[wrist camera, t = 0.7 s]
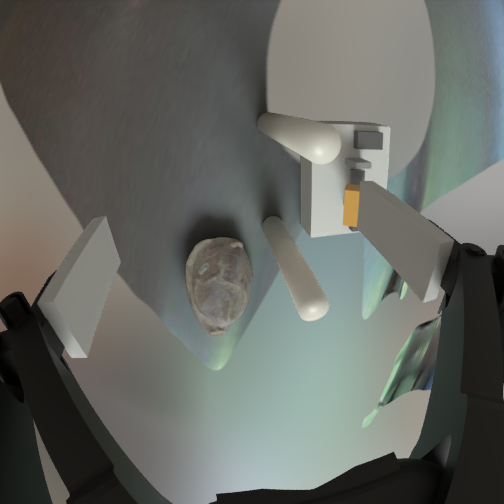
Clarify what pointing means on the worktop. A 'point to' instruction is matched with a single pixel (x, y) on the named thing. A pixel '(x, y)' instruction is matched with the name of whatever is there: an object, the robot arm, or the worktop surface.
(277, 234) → the post far
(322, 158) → the post near
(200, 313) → the seashell
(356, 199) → the breaker lever
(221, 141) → the worktop surface
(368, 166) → the panel
